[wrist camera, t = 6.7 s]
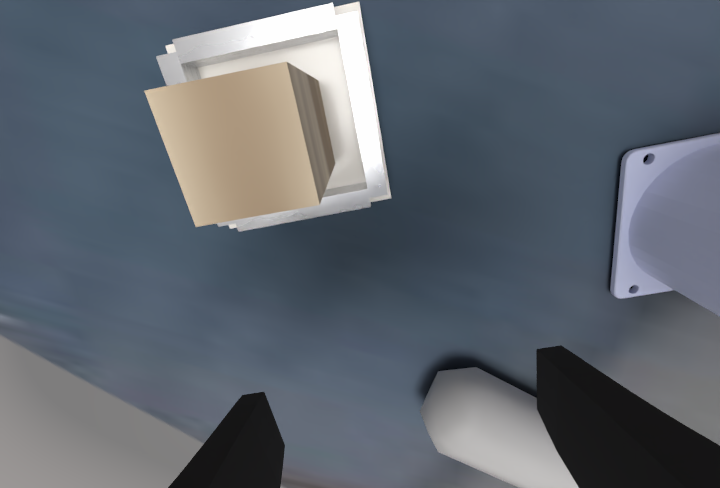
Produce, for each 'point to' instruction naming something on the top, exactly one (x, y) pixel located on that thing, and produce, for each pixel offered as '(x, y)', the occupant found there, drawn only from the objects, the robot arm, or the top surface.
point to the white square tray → (279, 36)
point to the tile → (330, 72)
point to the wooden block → (246, 142)
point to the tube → (492, 429)
